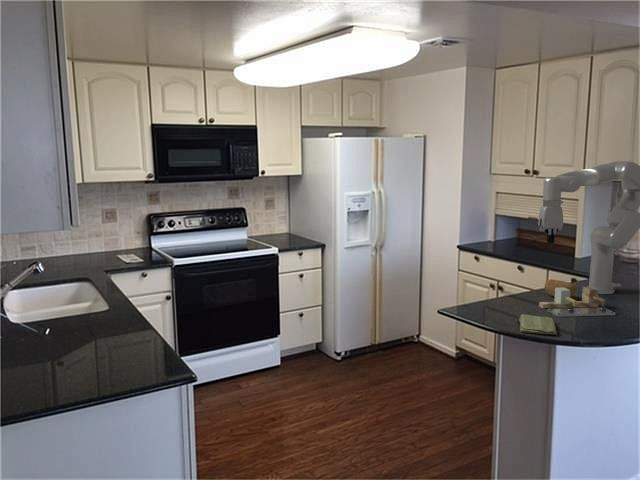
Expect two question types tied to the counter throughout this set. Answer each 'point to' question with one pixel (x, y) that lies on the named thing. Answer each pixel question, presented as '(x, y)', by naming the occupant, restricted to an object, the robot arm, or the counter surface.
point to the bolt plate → (581, 312)
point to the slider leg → (563, 296)
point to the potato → (559, 286)
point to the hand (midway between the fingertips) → (550, 242)
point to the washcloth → (537, 325)
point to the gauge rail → (588, 300)
